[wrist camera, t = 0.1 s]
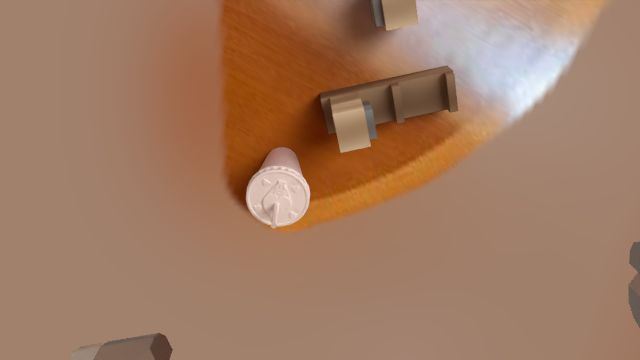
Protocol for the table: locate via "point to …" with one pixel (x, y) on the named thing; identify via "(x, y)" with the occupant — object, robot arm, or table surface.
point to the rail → (386, 104)
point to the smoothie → (278, 190)
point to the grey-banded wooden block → (393, 13)
